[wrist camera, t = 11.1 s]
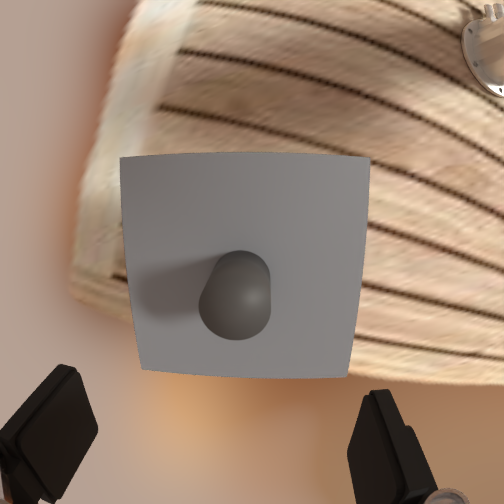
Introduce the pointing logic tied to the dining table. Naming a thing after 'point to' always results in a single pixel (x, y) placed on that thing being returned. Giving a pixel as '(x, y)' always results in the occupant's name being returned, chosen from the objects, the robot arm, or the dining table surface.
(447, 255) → the dining table surface
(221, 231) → the lid
